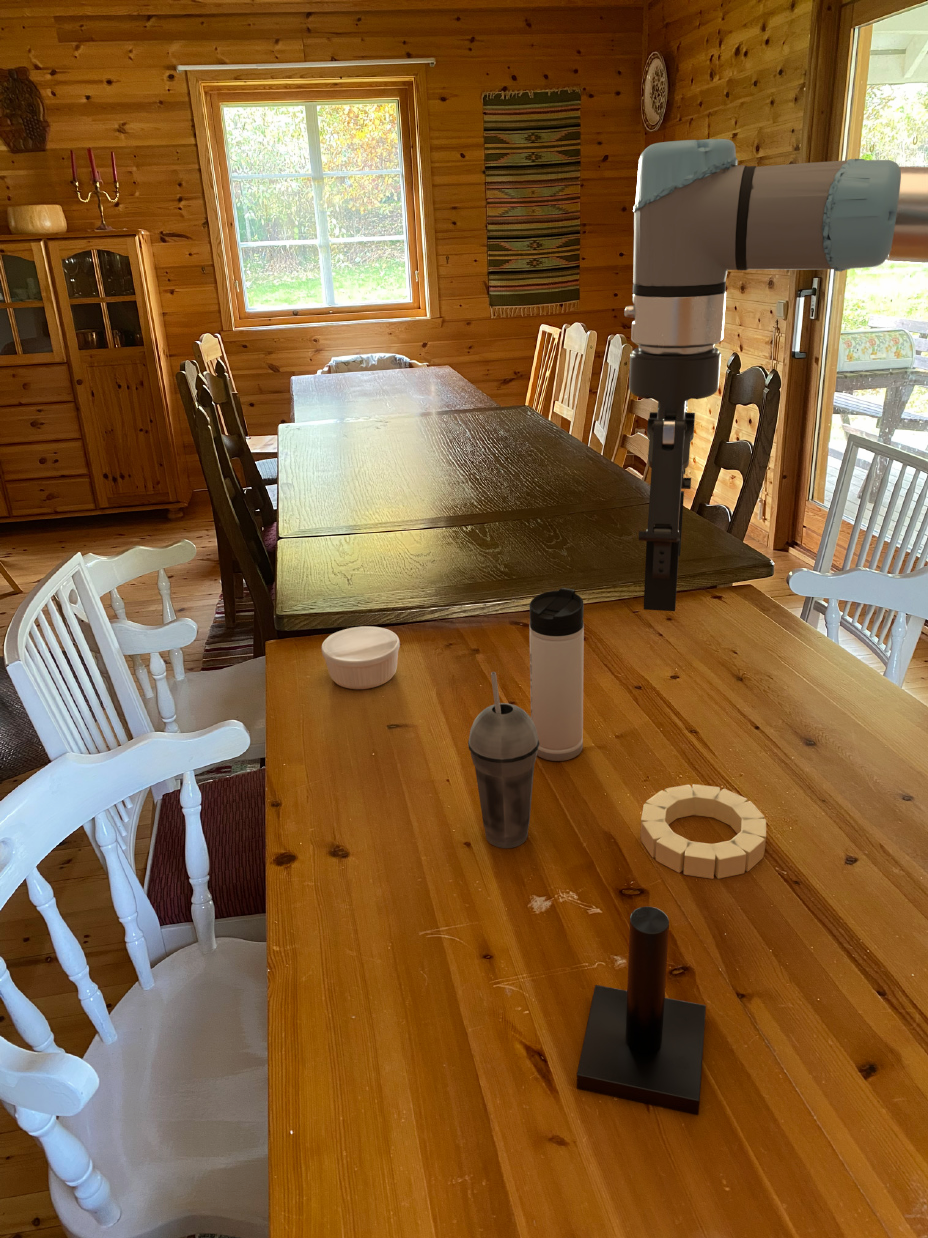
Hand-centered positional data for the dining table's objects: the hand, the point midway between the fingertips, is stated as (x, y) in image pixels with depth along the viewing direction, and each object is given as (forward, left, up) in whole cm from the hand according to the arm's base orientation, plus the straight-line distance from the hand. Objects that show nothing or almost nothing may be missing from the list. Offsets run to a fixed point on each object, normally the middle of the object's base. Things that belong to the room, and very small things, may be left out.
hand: (663, 580), depth 86 cm
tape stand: (-2, +29, -28) cm, 41 cm away
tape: (-5, +1, -28) cm, 29 cm away
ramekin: (+44, -26, -29) cm, 58 cm away
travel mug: (+13, -13, -29) cm, 34 cm away
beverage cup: (+15, +5, -29) cm, 32 cm away
